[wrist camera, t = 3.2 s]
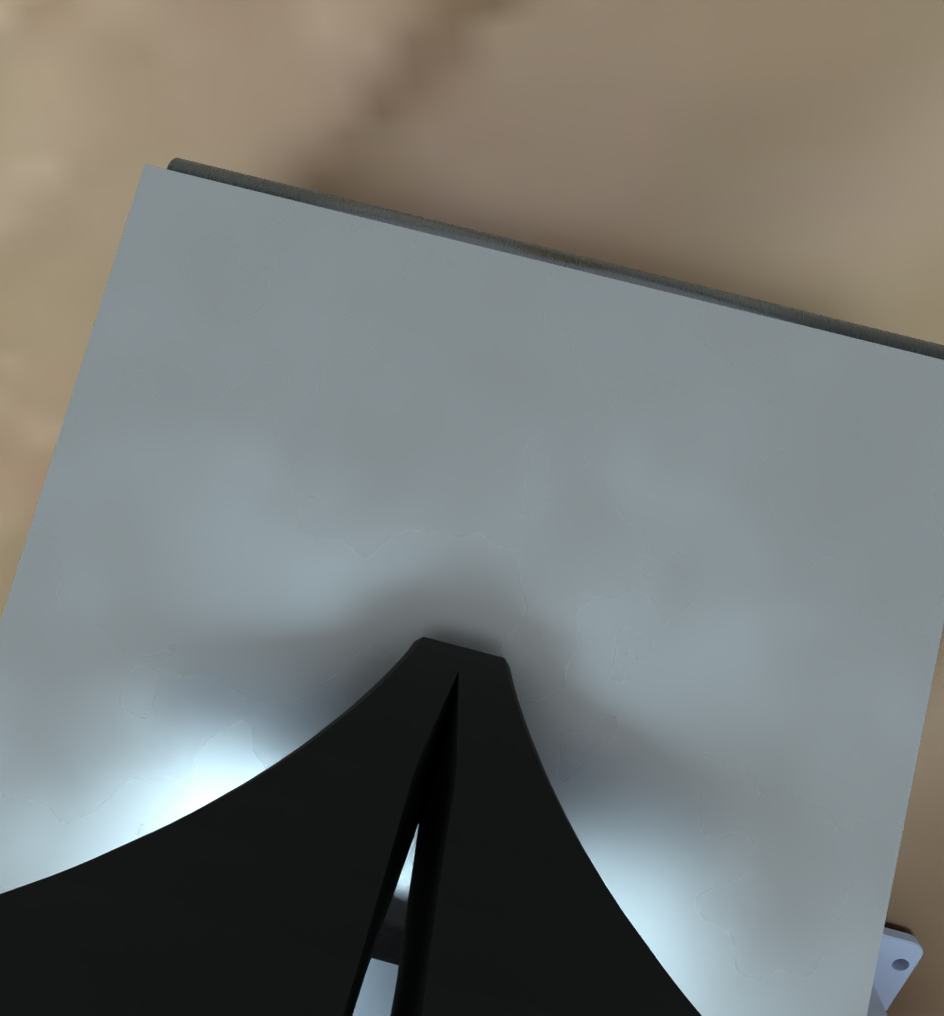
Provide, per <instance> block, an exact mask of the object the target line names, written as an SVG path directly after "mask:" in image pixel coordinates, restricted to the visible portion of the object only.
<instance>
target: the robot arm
mask: <svg viewBox="0 0 944 1016" xmlns="http://www.w3.org/2000/svg"><path fill="white" fill-rule="evenodd" d="M418 824H419V826H418ZM417 827H418V833H417V840H416V847H415V854H414V861H413V868H412V875H411V882H410V889H409V896H408V903H407V910H406V917H405V924H404V931H403V938H402V945H401V952H400V959H399V966H398V973H397V981H396V987H395V993H394V998H393V1004H392V1009H391V1015H390V1016H702V1015H701V1014H700V1013H699V1012H698V1011H697V1009H696V1008H695V1007H694V1006H693V1005H692V1003H691V1002H690V1001H689V1000H688V999H687V997H686V996H685V995H684V994H683V992H682V991H681V990H680V988H679V987H678V986H677V985H676V983H675V982H674V981H673V979H672V978H671V977H670V976H669V974H668V973H667V972H666V970H665V969H664V968H663V966H662V965H661V963H660V962H659V961H658V959H657V958H656V957H655V955H654V954H653V952H652V951H651V950H650V948H649V947H648V946H647V944H646V943H645V941H644V940H643V939H642V937H641V936H640V934H639V933H638V932H637V930H636V929H635V928H634V926H633V925H632V923H631V922H630V921H629V919H628V918H627V916H626V915H625V914H624V912H623V911H622V910H621V908H620V906H619V905H618V903H617V902H616V900H615V899H614V897H613V896H612V894H611V892H610V891H609V889H608V888H607V886H606V885H605V883H604V882H603V880H602V878H601V877H600V875H599V873H598V872H597V870H596V868H595V867H594V865H593V863H592V861H591V860H590V858H589V856H588V855H587V853H586V851H585V850H584V848H583V846H582V844H581V842H580V841H579V839H578V837H577V835H576V833H575V832H574V830H573V828H572V826H571V824H570V822H569V820H568V818H567V816H566V814H565V812H564V810H563V808H562V806H561V804H560V802H559V800H558V798H557V796H556V794H555V792H554V790H553V787H552V785H551V783H550V781H549V779H548V776H547V774H546V772H545V770H544V767H543V765H542V763H541V760H540V758H539V755H538V753H537V750H536V748H535V745H534V743H533V740H532V738H531V735H530V733H529V730H528V727H527V725H526V722H525V719H524V716H523V713H522V710H521V707H520V704H519V701H518V698H517V694H516V691H515V687H514V683H513V679H512V675H511V671H510V666H509V665H508V663H507V661H506V659H505V658H503V657H499V656H495V655H492V654H488V653H484V652H480V651H476V650H472V649H469V648H465V647H461V646H457V645H453V644H450V643H446V642H442V641H438V640H434V639H431V638H427V637H422V638H420V639H418V640H416V641H414V643H413V644H412V645H411V647H410V648H409V649H408V651H407V652H406V653H405V654H404V655H403V657H402V658H401V659H400V660H399V661H398V662H397V663H396V664H395V665H394V667H393V668H392V669H391V670H390V671H389V672H388V673H387V674H386V675H385V676H384V677H383V678H382V679H381V680H380V681H379V682H378V683H376V684H375V685H374V686H373V687H372V688H371V689H370V690H369V691H368V692H367V693H365V694H364V695H363V696H362V697H361V698H360V699H359V700H358V701H357V702H356V703H355V704H353V705H352V706H351V707H350V708H349V709H348V710H346V711H345V712H344V713H343V714H341V715H340V716H339V717H338V718H336V719H335V720H334V721H333V722H331V723H330V724H329V725H327V726H326V727H325V728H324V729H322V730H321V731H320V732H319V733H317V734H316V735H315V736H313V737H312V738H311V739H310V740H308V741H307V742H306V743H304V744H303V745H301V746H300V747H299V748H297V749H296V750H294V751H293V752H291V753H290V754H289V755H287V756H286V757H284V758H283V759H281V760H280V761H278V762H277V763H275V764H274V765H272V766H271V767H269V768H267V769H266V770H264V771H263V772H261V773H260V774H258V775H256V776H255V777H253V778H252V779H250V780H248V781H247V782H245V783H243V784H242V785H240V786H238V787H236V788H235V789H233V790H231V791H229V792H227V793H226V794H224V795H222V796H220V797H219V798H217V799H215V800H213V801H212V802H210V803H208V804H206V805H205V806H203V807H201V808H199V809H197V810H195V811H193V812H192V813H190V814H188V815H186V816H184V817H182V818H180V819H178V820H176V821H174V822H172V823H170V824H168V825H166V826H164V827H162V828H160V829H158V830H155V831H153V832H151V833H149V834H146V835H144V836H142V837H140V838H138V839H135V840H133V841H131V842H129V843H127V844H124V845H122V846H120V847H118V848H116V849H113V850H111V851H109V852H107V853H105V854H102V855H100V856H98V857H96V858H94V859H91V860H89V861H87V862H84V863H82V864H79V865H77V866H75V867H72V868H70V869H67V870H65V871H62V872H59V873H57V874H54V875H52V876H49V877H46V878H44V879H41V880H38V881H35V882H32V883H30V884H27V885H24V886H21V887H18V888H15V889H13V890H10V891H7V892H4V893H1V894H0V1016H353V1013H354V1010H355V1006H356V1003H357V1000H358V997H359V994H360V990H361V987H362V984H363V981H364V977H365V974H366V972H367V969H368V966H369V963H370V960H371V957H372V955H373V952H374V949H375V946H376V943H377V940H378V938H379V935H380V932H381V929H382V926H383V923H384V921H385V918H386V915H387V912H388V909H389V906H390V904H391V901H392V898H393V895H394V892H395V889H396V887H397V884H398V881H399V878H400V875H401V872H402V869H403V867H404V864H405V861H406V858H407V855H408V852H409V850H410V847H411V844H412V841H413V838H414V835H415V832H416V830H417ZM922 955H923V950H922V947H921V945H920V943H919V942H918V940H917V939H916V938H915V937H914V936H913V935H910V934H908V933H904V932H901V931H897V930H893V929H889V928H886V927H884V930H883V935H882V940H881V945H880V950H879V955H878V960H877V966H876V971H875V976H874V981H873V986H872V991H871V996H870V1001H869V1006H868V1011H867V1016H888V1015H887V1013H886V1011H887V1009H888V1007H889V1006H890V1004H891V1003H892V1001H893V1000H894V998H895V997H896V995H897V994H898V992H899V991H900V989H901V988H902V986H903V985H904V983H905V982H906V980H907V979H908V977H909V976H910V974H911V972H912V971H913V969H914V968H915V966H916V965H917V963H918V962H919V960H920V959H921V957H922Z"/></svg>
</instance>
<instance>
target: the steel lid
mask: <svg viewBox="0 0 944 1016" xmlns="http://www.w3.org/2000/svg"><path fill="white" fill-rule="evenodd" d="M943 624H944V345H940V344H936V343H932V342H928V341H924V340H920V339H916V338H912V337H907V336H903V335H899V334H895V333H891V332H887V331H883V330H879V329H875V328H871V327H867V326H863V325H858V324H854V323H850V322H846V321H842V320H838V319H834V318H830V317H826V316H822V315H818V314H814V313H809V312H805V311H801V310H797V309H793V308H789V307H785V306H781V305H777V304H773V303H769V302H765V301H760V300H756V299H752V298H748V297H744V296H740V295H736V294H732V293H728V292H724V291H720V290H715V289H711V288H707V287H703V286H699V285H695V284H691V283H687V282H683V281H679V280H675V279H671V278H666V277H662V276H658V275H654V274H650V273H646V272H642V271H638V270H634V269H630V268H626V267H622V266H617V265H613V264H609V263H605V262H601V261H597V260H593V259H589V258H585V257H581V256H577V255H573V254H568V253H564V252H560V251H556V250H552V249H548V248H544V247H540V246H536V245H532V244H528V243H524V242H519V241H515V240H511V239H507V238H503V237H499V236H495V235H491V234H487V233H483V232H479V231H475V230H470V229H466V228H462V227H458V226H454V225H450V224H446V223H442V222H438V221H434V220H430V219H425V218H421V217H417V216H413V215H409V214H405V213H401V212H397V211H393V210H389V209H385V208H381V207H376V206H372V205H368V204H364V203H360V202H356V201H352V200H348V199H344V198H340V197H336V196H332V195H327V194H323V193H319V192H315V191H311V190H307V189H303V188H299V187H295V186H291V185H287V184H283V183H278V182H274V181H270V180H266V179H262V178H258V177H254V176H250V175H246V174H242V173H238V172H234V171H229V170H225V169H221V168H217V167H213V166H209V165H205V164H201V163H197V162H193V161H189V160H184V159H180V158H174V159H173V160H172V161H171V162H170V163H169V165H168V168H167V169H163V168H159V167H155V166H151V165H147V164H145V165H144V168H143V171H142V174H141V177H140V181H139V184H138V187H137V190H136V193H135V197H134V200H133V203H132V206H131V209H130V212H129V216H128V219H127V222H126V225H125V228H124V231H123V235H122V238H121V241H120V244H119V247H118V251H117V254H116V257H115V260H114V263H113V266H112V270H111V273H110V276H109V279H108V282H107V285H106V289H105V292H104V295H103V298H102V301H101V305H100V308H99V311H98V314H97V317H96V320H95V324H94V327H93V330H92V333H91V336H90V339H89V343H88V346H87V349H86V352H85V355H84V359H83V362H82V365H81V368H80V371H79V374H78V378H77V381H76V384H75V387H74V390H73V393H72V397H71V400H70V403H69V406H68V409H67V413H66V416H65V419H64V422H63V425H62V428H61V432H60V435H59V438H58V441H57V444H56V447H55V451H54V454H53V457H52V460H51V463H50V466H49V470H48V473H47V476H46V479H45V482H44V486H43V489H42V492H41V495H40V498H39V501H38V505H37V508H36V511H35V514H34V517H33V520H32V524H31V527H30V530H29V533H28V536H27V540H26V543H25V546H24V549H23V552H22V555H21V559H20V562H19V565H18V568H17V571H16V574H15V578H14V581H13V584H12V587H11V590H10V594H9V597H8V600H7V603H6V606H5V609H4V613H3V616H2V619H1V622H0V894H1V893H4V892H7V891H10V890H13V889H15V888H18V887H21V886H24V885H27V884H30V883H32V882H35V881H38V880H41V879H44V878H46V877H49V876H52V875H54V874H57V873H59V872H62V871H65V870H67V869H70V868H72V867H75V866H77V865H79V864H82V863H84V862H87V861H89V860H91V859H94V858H96V857H98V856H100V855H102V854H105V853H107V852H109V851H111V850H113V849H116V848H118V847H120V846H122V845H124V844H127V843H129V842H131V841H133V840H135V839H138V838H140V837H142V836H144V835H146V834H149V833H151V832H153V831H155V830H158V829H160V828H162V827H164V826H166V825H168V824H170V823H172V822H174V821H176V820H178V819H180V818H182V817H184V816H186V815H188V814H190V813H192V812H193V811H195V810H197V809H199V808H201V807H203V806H205V805H206V804H208V803H210V802H212V801H213V800H215V799H217V798H219V797H220V796H222V795H224V794H226V793H227V792H229V791H231V790H233V789H235V788H236V787H238V786H240V785H242V784H243V783H245V782H247V781H248V780H250V779H252V778H253V777H255V776H256V775H258V774H260V773H261V772H263V771H264V770H266V769H267V768H269V767H271V766H272V765H274V764H275V763H277V762H278V761H280V760H281V759H283V758H284V757H286V756H287V755H289V754H290V753H291V752H293V751H294V750H296V749H297V748H299V747H300V746H301V745H303V744H304V743H306V742H307V741H308V740H310V739H311V738H312V737H313V736H315V735H316V734H317V733H319V732H320V731H321V730H322V729H324V728H325V727H326V726H327V725H329V724H330V723H331V722H333V721H334V720H335V719H336V718H338V717H339V716H340V715H341V714H343V713H344V712H345V711H346V710H348V709H349V708H350V707H351V706H352V705H353V704H355V703H356V702H357V701H358V700H359V699H360V698H361V697H362V696H363V695H364V694H365V693H367V692H368V691H369V690H370V689H371V688H372V687H373V686H374V685H375V684H376V683H378V682H379V681H380V680H381V679H382V678H383V677H384V676H385V675H386V674H387V673H388V672H389V671H390V670H391V669H392V668H393V667H394V665H395V664H396V663H397V662H398V661H399V660H400V659H401V658H402V657H403V655H404V654H405V653H406V652H407V651H408V649H409V648H410V647H411V645H412V644H413V643H414V641H416V640H418V639H420V638H422V637H427V638H431V639H434V640H438V641H442V642H446V643H450V644H453V645H457V646H461V647H465V648H469V649H472V650H476V651H480V652H484V653H488V654H492V655H495V656H499V657H503V658H505V659H506V661H507V663H508V665H509V666H510V671H511V675H512V679H513V683H514V687H515V691H516V694H517V698H518V701H519V704H520V707H521V710H522V713H523V716H524V719H525V722H526V725H527V727H528V730H529V733H530V735H531V738H532V740H533V743H534V745H535V748H536V750H537V753H538V755H539V758H540V760H541V763H542V765H543V767H544V770H545V772H546V774H547V776H548V779H549V781H550V783H551V785H552V787H553V790H554V792H555V794H556V796H557V798H558V800H559V802H560V804H561V806H562V808H563V810H564V812H565V814H566V816H567V818H568V820H569V822H570V824H571V826H572V828H573V830H574V832H575V833H576V835H577V837H578V839H579V841H580V842H581V844H582V846H583V848H584V850H585V851H586V853H587V855H588V856H589V858H590V860H591V861H592V863H593V865H594V867H595V868H596V870H597V872H598V873H599V875H600V877H601V878H602V880H603V882H604V883H605V885H606V886H607V888H608V889H609V891H610V892H611V894H612V896H613V897H614V899H615V900H616V902H617V903H618V905H619V906H620V908H621V910H622V911H623V912H624V914H625V915H626V916H627V918H628V919H629V921H630V922H631V923H632V925H633V926H634V928H635V929H636V930H637V932H638V933H639V934H640V936H641V937H642V939H643V940H644V941H645V943H646V944H647V946H648V947H649V948H650V950H651V951H652V952H653V954H654V955H655V957H656V958H657V959H658V961H659V962H660V963H661V965H662V966H663V968H664V969H665V970H666V972H667V973H668V974H669V976H670V977H671V978H672V979H673V981H674V982H675V983H676V985H677V986H678V987H679V988H680V990H681V991H682V992H683V994H684V995H685V996H686V997H687V999H688V1000H689V1001H690V1002H691V1003H692V1005H693V1006H694V1007H695V1008H696V1009H697V1011H698V1012H699V1013H700V1014H701V1015H702V1016H867V1011H868V1006H869V1001H870V996H871V991H872V986H873V981H874V976H875V971H876V966H877V960H878V955H879V950H880V945H881V940H882V935H883V930H884V925H885V920H886V915H887V909H888V904H889V899H890V894H891V889H892V884H893V879H894V874H895V869H896V864H897V859H898V853H899V848H900V843H901V838H902V833H903V828H904V823H905V818H906V813H907V808H908V802H909V797H910V792H911V787H912V782H913V777H914V772H915V767H916V762H917V757H918V751H919V746H920V741H921V736H922V731H923V726H924V721H925V716H926V711H927V706H928V701H929V695H930V690H931V685H932V680H933V675H934V670H935V665H936V660H937V655H938V650H939V644H940V639H941V634H942V629H943ZM418 826H419V824H418ZM417 833H418V827H417V830H416V832H415V835H414V838H413V841H412V844H411V847H410V850H409V852H408V855H407V858H406V861H405V864H404V867H403V869H402V872H401V875H400V878H399V881H398V884H397V887H396V889H395V892H394V895H393V898H392V901H391V904H390V906H389V909H388V912H387V915H386V918H385V921H384V923H383V926H382V929H381V932H380V935H379V938H378V940H377V943H376V946H375V949H374V952H373V955H372V957H371V960H370V963H369V966H368V969H367V972H366V974H365V977H364V981H363V984H362V987H361V990H360V994H359V997H358V1000H357V1003H356V1006H355V1010H354V1013H353V1016H390V1015H391V1009H392V1004H393V998H394V993H395V987H396V981H397V973H398V966H399V959H400V952H401V945H402V938H403V931H404V924H405V917H406V910H407V903H408V896H409V889H410V882H411V875H412V868H413V861H414V854H415V847H416V840H417Z"/></svg>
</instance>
